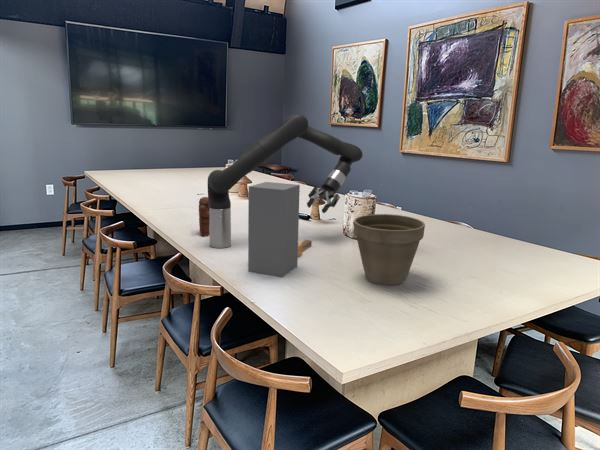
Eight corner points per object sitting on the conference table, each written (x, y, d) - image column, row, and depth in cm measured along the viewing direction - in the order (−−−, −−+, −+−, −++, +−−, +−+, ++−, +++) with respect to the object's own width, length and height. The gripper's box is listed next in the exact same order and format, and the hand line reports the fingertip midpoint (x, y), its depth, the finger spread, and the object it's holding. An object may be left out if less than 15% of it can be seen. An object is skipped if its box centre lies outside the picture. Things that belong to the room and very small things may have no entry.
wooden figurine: (214, 236, 221) (213, 199, 217) (200, 237, 219) (199, 199, 215) (211, 230, 232) (211, 194, 228) (198, 231, 230) (197, 195, 226)
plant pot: (366, 293, 155) (370, 230, 150) (341, 269, 179) (343, 214, 174) (432, 288, 162) (439, 227, 157) (399, 266, 185) (404, 212, 180)
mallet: (282, 257, 192) (282, 245, 191) (302, 244, 212) (302, 234, 210) (295, 259, 190) (295, 247, 188) (314, 246, 209) (314, 235, 208)
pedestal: (248, 271, 173) (248, 186, 166) (265, 261, 186) (266, 181, 179) (282, 277, 168) (284, 189, 161) (297, 266, 181) (299, 184, 174)
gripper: (319, 173, 216) (300, 200, 211) (344, 180, 207) (325, 209, 203) (324, 182, 221) (306, 209, 217) (349, 190, 213) (330, 218, 209)
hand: (315, 209), depth 210 cm, fingers open, 8 cm apart
